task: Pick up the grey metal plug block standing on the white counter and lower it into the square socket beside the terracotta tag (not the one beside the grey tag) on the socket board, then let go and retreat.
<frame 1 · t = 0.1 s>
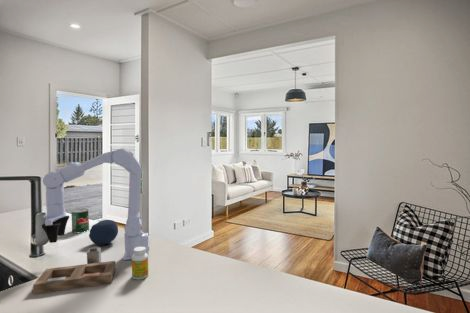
hand: (57, 238, 105), 10 cm above the counter, tool pointing down, fingers open, 7 cm apart
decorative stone: (104, 244, 127), on the counter
canned tomato: (80, 231, 146), on the counter
socket board: (78, 280, 94), on the counter
plug: (94, 265, 105), on the counter
supplement bottle: (140, 276, 97), on the counter
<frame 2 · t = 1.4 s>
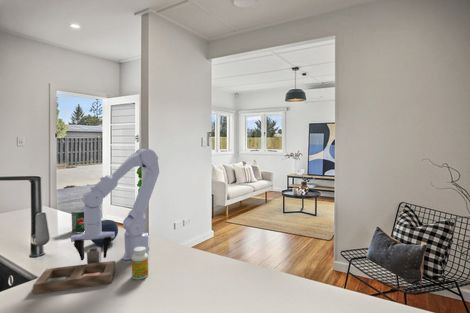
hand: (93, 258, 105), 3 cm above the counter, tool pointing down, fingers open, 7 cm apart
nothing on the counter moved.
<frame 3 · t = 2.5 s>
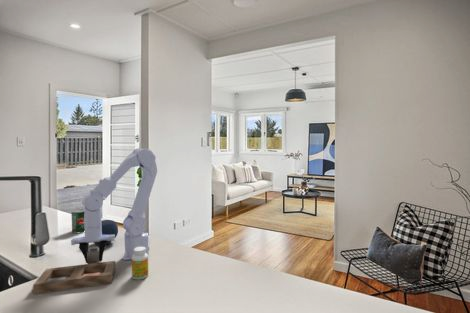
hand: (94, 261, 105), 2 cm above the counter, tool pointing down, fingers closed on plug, 4 cm apart
plug: (94, 265, 105), on the counter, touching gripper
everything else where it was.
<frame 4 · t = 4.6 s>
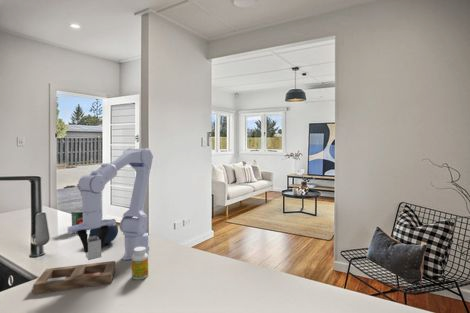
hand: (93, 249, 95), 10 cm above the counter, tool pointing down, fingers closed on plug, 4 cm apart
plug: (93, 256, 95), point 7 cm above the counter, touching gripper
everything else where it was.
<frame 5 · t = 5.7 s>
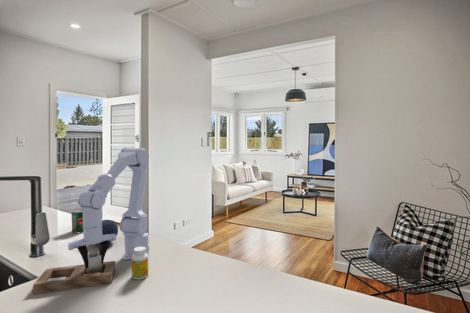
hand: (94, 265, 95), 5 cm above the counter, tool pointing down, fingers closed on plug, 4 cm apart
plug: (94, 272, 95), point 2 cm above the counter, touching gripper
everything else where it was.
when the fingers open (4 cm above the counter, at t = 6.7 s): plug drops 1 cm, resting in socket board.
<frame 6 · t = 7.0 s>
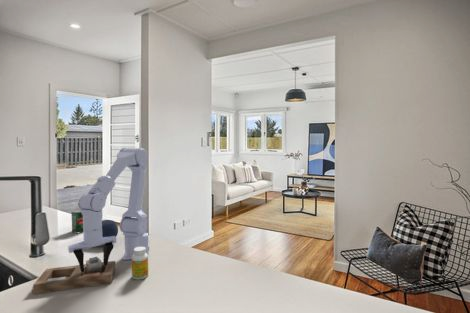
hand: (94, 267, 95), 4 cm above the counter, tool pointing down, fingers open, 7 cm apart
plug: (94, 278, 95), resting in socket board
everything else where it was.
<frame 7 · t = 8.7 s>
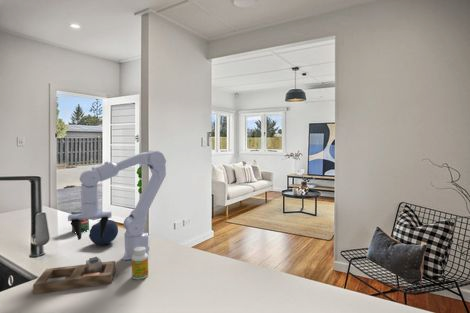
hand: (91, 237, 105), 10 cm above the counter, tool pointing down, fingers open, 7 cm apart
nothing on the counter moved.
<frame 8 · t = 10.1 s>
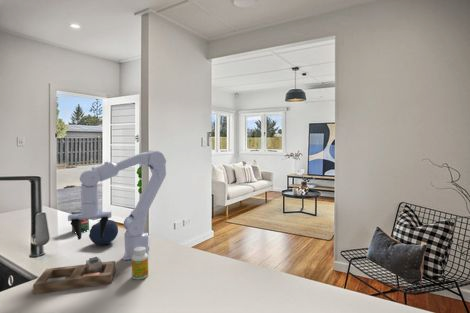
hand: (91, 237, 105), 10 cm above the counter, tool pointing down, fingers open, 7 cm apart
nothing on the counter moved.
at the end: plug 0.3 cm from the target spot on the socket board, point 0.0 cm above the socket board's base; plug tilted 0°; the gripper is holding nothing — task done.
